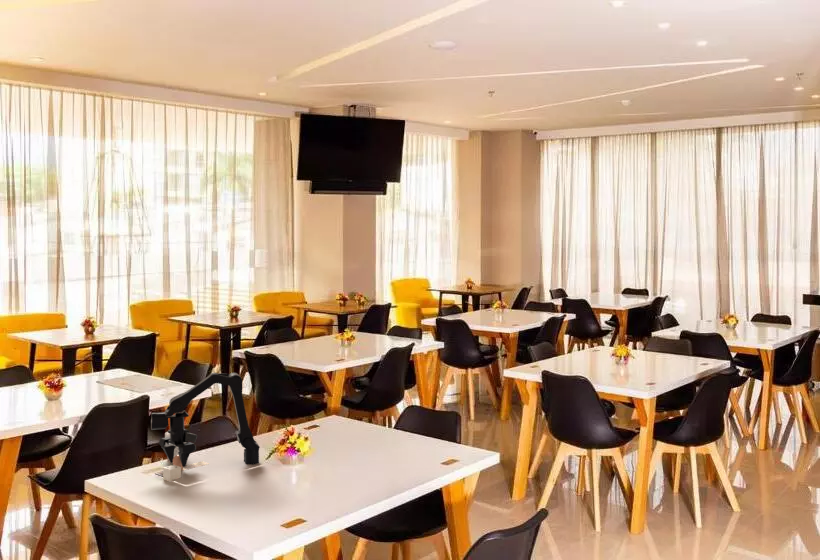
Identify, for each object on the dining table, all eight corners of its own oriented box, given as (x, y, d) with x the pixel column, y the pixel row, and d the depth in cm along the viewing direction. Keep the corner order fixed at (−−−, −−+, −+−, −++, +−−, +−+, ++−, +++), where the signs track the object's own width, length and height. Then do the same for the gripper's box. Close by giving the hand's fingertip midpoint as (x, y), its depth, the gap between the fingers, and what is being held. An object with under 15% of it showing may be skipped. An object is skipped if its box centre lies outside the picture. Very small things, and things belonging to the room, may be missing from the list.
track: (202, 462, 350) (202, 460, 349) (211, 465, 345) (211, 463, 345) (154, 474, 332) (154, 472, 332) (163, 477, 328) (163, 475, 328)
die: (181, 479, 326) (181, 466, 326) (170, 482, 322) (169, 469, 322) (174, 476, 329) (174, 464, 329) (163, 479, 326) (163, 467, 325)
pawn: (184, 469, 337) (184, 455, 337) (176, 471, 334) (176, 457, 334) (179, 467, 340) (179, 453, 339) (171, 469, 337) (170, 455, 336)
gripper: (206, 427, 336) (207, 464, 336) (181, 420, 348) (182, 456, 349) (183, 432, 327) (183, 470, 328) (158, 425, 340) (159, 462, 341)
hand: (177, 464), depth 337 cm, fingers open, 9 cm apart
